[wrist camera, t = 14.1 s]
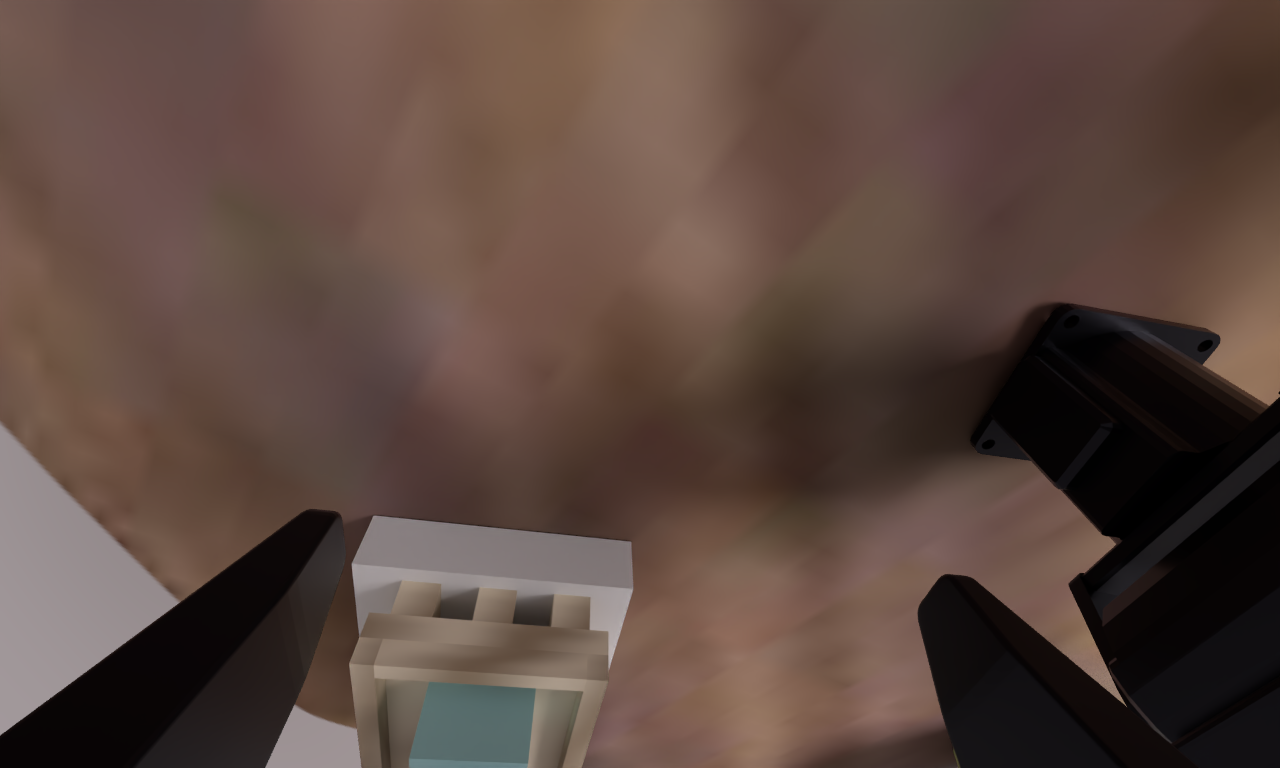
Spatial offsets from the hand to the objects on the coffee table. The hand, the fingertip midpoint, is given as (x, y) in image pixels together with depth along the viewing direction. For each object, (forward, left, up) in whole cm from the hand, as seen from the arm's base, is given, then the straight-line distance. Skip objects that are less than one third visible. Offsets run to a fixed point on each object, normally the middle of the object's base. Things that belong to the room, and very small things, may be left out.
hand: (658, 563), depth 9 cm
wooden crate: (+3, +20, -10) cm, 23 cm away
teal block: (+3, +17, -7) cm, 19 cm away
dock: (+3, +20, -12) cm, 24 cm away
